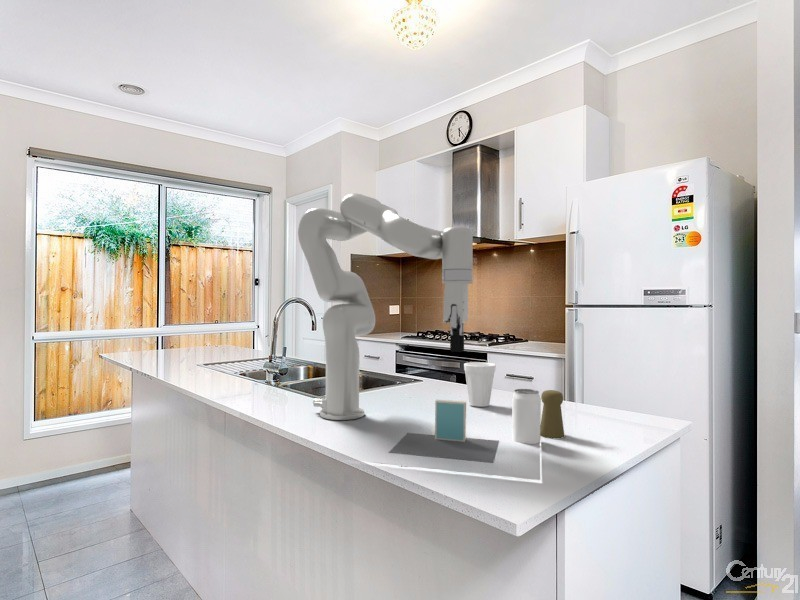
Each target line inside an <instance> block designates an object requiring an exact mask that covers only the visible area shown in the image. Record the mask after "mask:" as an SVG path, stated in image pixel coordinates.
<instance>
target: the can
mask: <svg viewBox="0 0 800 600" xmlns="http://www.w3.org/2000/svg"><path fill="white" fill-rule="evenodd" d="M539 393H540V391H539V390H536V389H531V388H517V389H514V392H513V394H512V400H511V401H512V402H511V404H512V405H511V407H512V408H511V416H512V417H511V439H512V441H514V442H517V443H520V444H526V445H528V444H531V445H533V444H538V443H539V444H540V443H541V436H540V425H541V418H542V413H541V412H542V411H541V407H542V404H541V403H542V399H541V396H540V395H539Z"/></svg>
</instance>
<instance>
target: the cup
mask: <svg viewBox="0 0 800 600" xmlns="http://www.w3.org/2000/svg"><path fill="white" fill-rule="evenodd" d="M463 371H464V373H465V381H466V389H467V396H468V397H467V398H468V404H469V406H472V407H479V408H480V407H488V406H490V403H491V397H492V396H491V395H492V390H493V383H494V382H493V381H494V378H495V377H494V376H495V372H496V363H492V362H491V363H490V362H483V361H482V362H480V361H473V362H472V361H471V362H470V361H469V362H465V363H463Z"/></svg>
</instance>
